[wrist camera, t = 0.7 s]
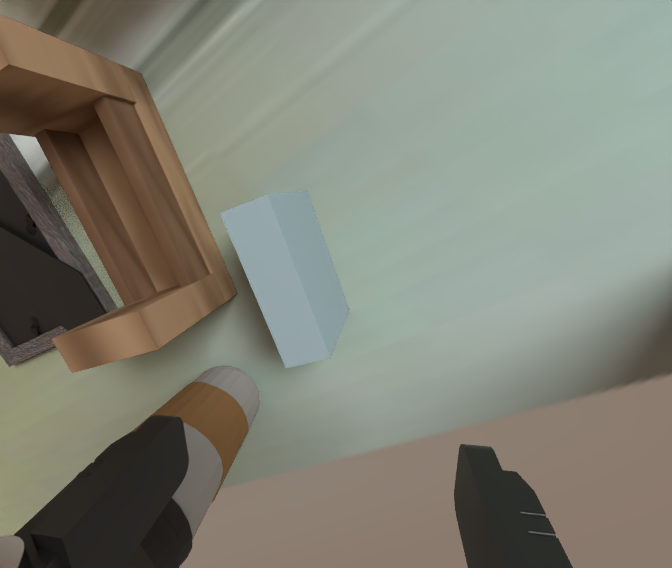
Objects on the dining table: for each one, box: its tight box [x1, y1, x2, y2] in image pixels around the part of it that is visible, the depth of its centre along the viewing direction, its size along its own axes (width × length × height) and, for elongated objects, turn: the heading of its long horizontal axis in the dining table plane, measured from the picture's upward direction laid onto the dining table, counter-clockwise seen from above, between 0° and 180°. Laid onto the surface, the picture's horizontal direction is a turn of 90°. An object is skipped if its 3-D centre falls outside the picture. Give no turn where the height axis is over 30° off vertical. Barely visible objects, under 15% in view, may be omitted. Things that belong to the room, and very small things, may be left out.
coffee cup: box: [76, 366, 259, 568], centre depth 25 cm, size 8×8×15 cm
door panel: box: [220, 190, 349, 368], centre depth 23 cm, size 4×10×8 cm, turn 20°
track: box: [0, 15, 238, 373], centre depth 22 cm, size 7×18×10 cm, turn 20°
